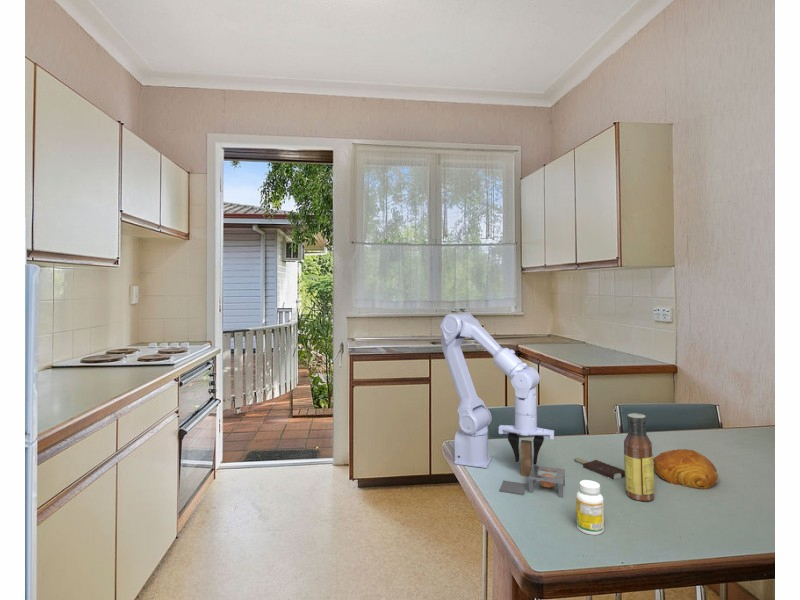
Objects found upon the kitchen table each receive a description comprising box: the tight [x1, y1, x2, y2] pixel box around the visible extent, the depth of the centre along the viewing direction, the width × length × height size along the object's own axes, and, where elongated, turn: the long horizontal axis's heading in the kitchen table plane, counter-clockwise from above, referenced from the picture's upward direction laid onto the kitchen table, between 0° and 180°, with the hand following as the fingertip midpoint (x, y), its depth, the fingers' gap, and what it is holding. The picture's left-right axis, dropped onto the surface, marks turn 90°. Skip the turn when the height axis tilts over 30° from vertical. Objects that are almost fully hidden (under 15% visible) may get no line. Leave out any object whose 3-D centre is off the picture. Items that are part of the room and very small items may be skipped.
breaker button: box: [539, 473, 555, 488], centre depth 115 cm, size 3×3×2 cm
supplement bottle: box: [575, 479, 605, 536], centre depth 96 cm, size 5×5×10 cm
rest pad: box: [498, 479, 528, 496], centre depth 116 cm, size 6×6×1 cm
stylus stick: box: [520, 439, 533, 478], centre depth 124 cm, size 3×3×9 cm
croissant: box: [653, 448, 719, 490], centre depth 121 cm, size 14×16×8 cm
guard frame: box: [528, 464, 566, 499], centre depth 115 cm, size 8×8×4 cm
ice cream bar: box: [574, 457, 625, 480], centre depth 127 cm, size 5×2×15 cm
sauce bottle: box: [623, 412, 655, 502], centre depth 110 cm, size 7×6×20 cm
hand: (526, 462), depth 124 cm, fingers open, 4 cm apart
